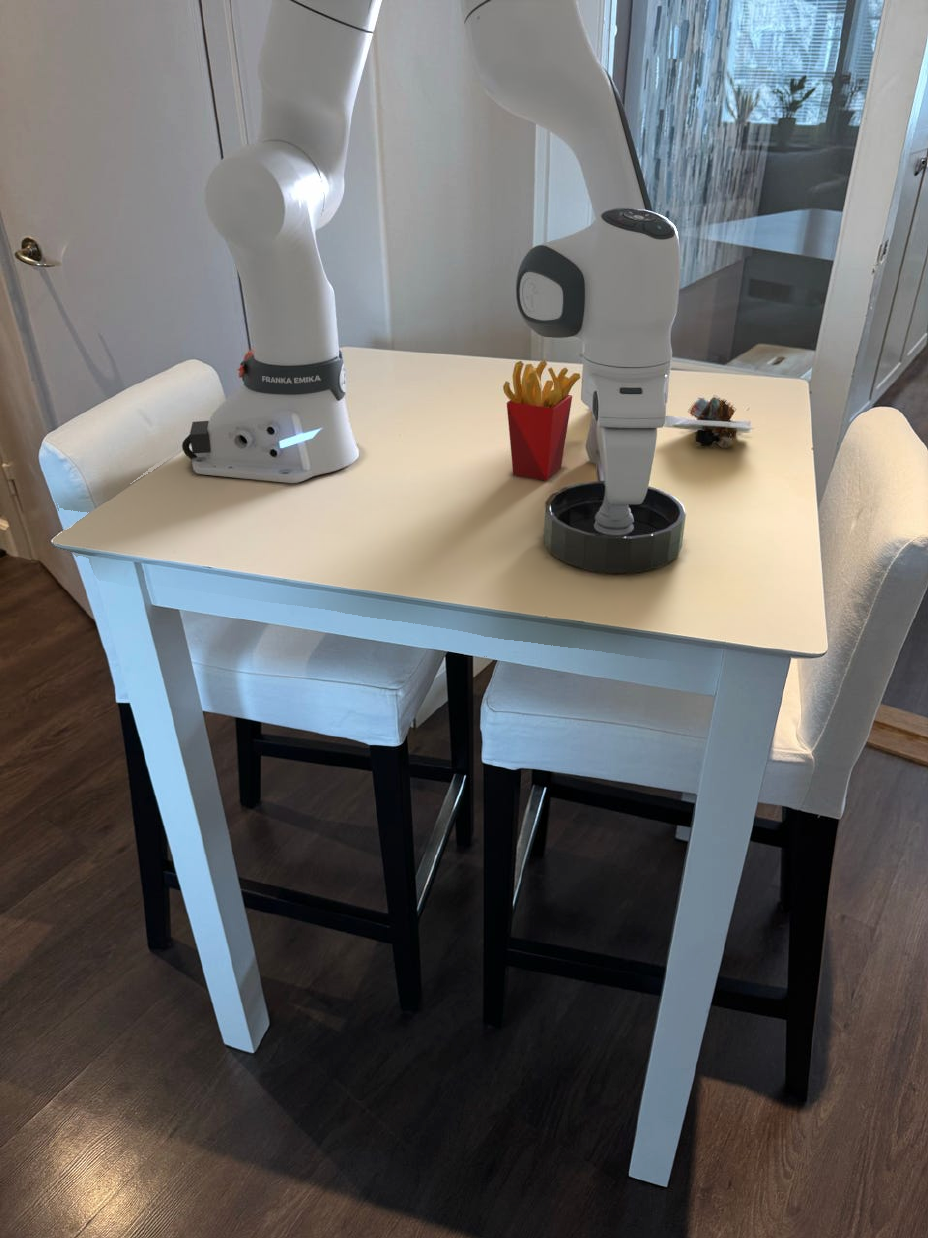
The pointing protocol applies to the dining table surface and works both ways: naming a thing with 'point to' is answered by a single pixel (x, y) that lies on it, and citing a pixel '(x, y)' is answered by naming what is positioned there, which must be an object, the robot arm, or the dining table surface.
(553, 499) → the pan
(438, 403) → the dining table surface
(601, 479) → the pan handle
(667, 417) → the white tray with chunks
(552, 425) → the french fries
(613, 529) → the rook chess piece
